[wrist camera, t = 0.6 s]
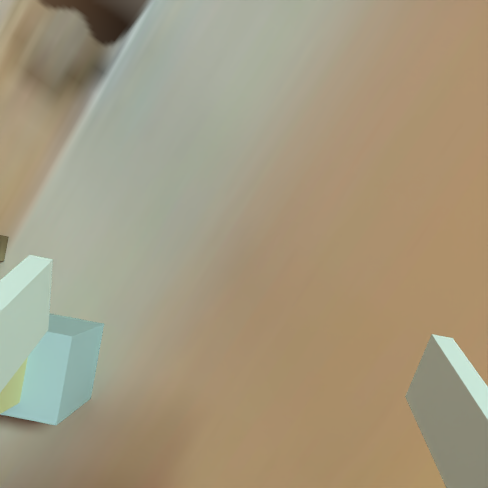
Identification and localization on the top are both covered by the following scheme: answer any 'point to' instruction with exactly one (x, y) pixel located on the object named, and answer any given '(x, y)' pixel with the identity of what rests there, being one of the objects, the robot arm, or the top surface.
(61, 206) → the top surface
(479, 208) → the top surface
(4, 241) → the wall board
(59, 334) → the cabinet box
